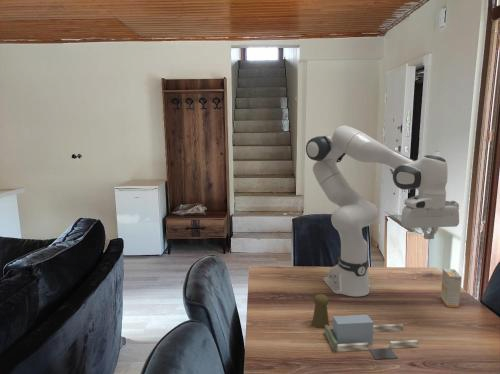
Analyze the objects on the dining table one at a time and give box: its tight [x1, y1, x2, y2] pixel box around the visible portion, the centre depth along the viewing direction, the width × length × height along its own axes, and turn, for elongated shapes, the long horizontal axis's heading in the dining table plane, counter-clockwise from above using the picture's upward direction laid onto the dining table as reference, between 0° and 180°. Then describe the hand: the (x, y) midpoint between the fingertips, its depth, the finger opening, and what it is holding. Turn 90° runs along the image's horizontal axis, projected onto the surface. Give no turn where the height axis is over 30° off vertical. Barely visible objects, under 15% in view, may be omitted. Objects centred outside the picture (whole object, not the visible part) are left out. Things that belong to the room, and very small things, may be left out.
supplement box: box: [440, 268, 462, 308], centre depth 147 cm, size 8×5×13 cm, turn 168°
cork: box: [311, 293, 330, 329], centre depth 132 cm, size 6×6×11 cm
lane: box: [324, 323, 419, 360], centre depth 122 cm, size 28×21×3 cm
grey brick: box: [332, 314, 374, 346], centre depth 121 cm, size 12×5×8 cm, turn 95°
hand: (428, 238), depth 131 cm, fingers closed
